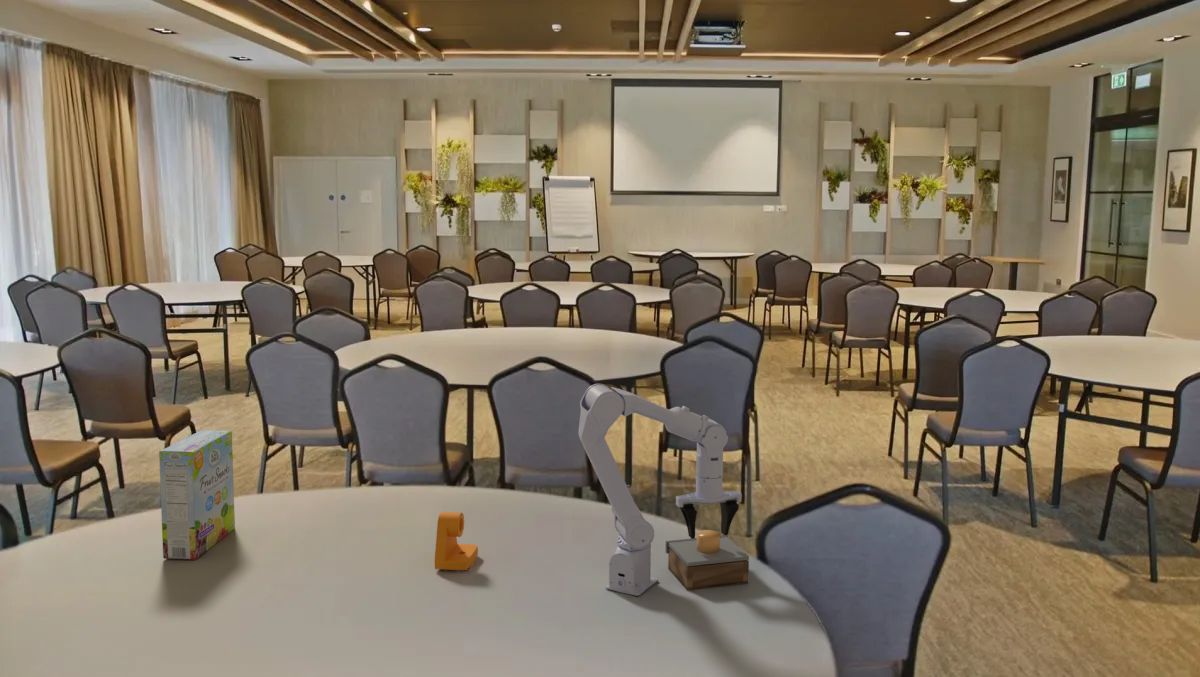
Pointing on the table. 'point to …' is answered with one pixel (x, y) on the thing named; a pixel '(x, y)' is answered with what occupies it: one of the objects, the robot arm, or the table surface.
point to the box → (708, 573)
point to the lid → (692, 556)
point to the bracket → (452, 544)
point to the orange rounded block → (708, 541)
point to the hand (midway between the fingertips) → (708, 535)
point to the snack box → (196, 493)
